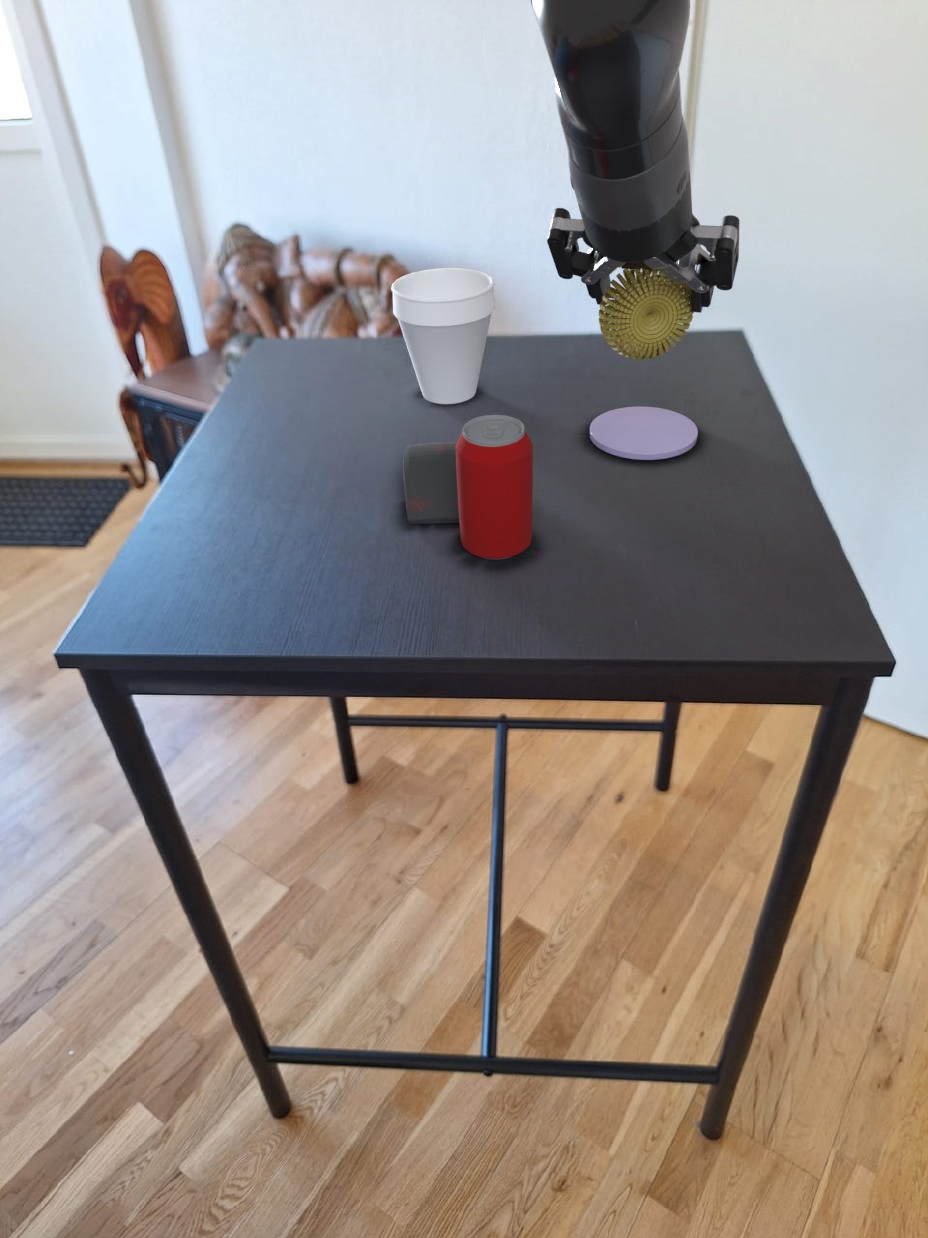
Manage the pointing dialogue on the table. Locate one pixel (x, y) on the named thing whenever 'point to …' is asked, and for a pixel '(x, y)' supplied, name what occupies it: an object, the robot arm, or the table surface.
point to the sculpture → (644, 313)
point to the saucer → (643, 433)
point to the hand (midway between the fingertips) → (650, 298)
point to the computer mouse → (431, 483)
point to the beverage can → (495, 486)
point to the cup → (445, 328)
